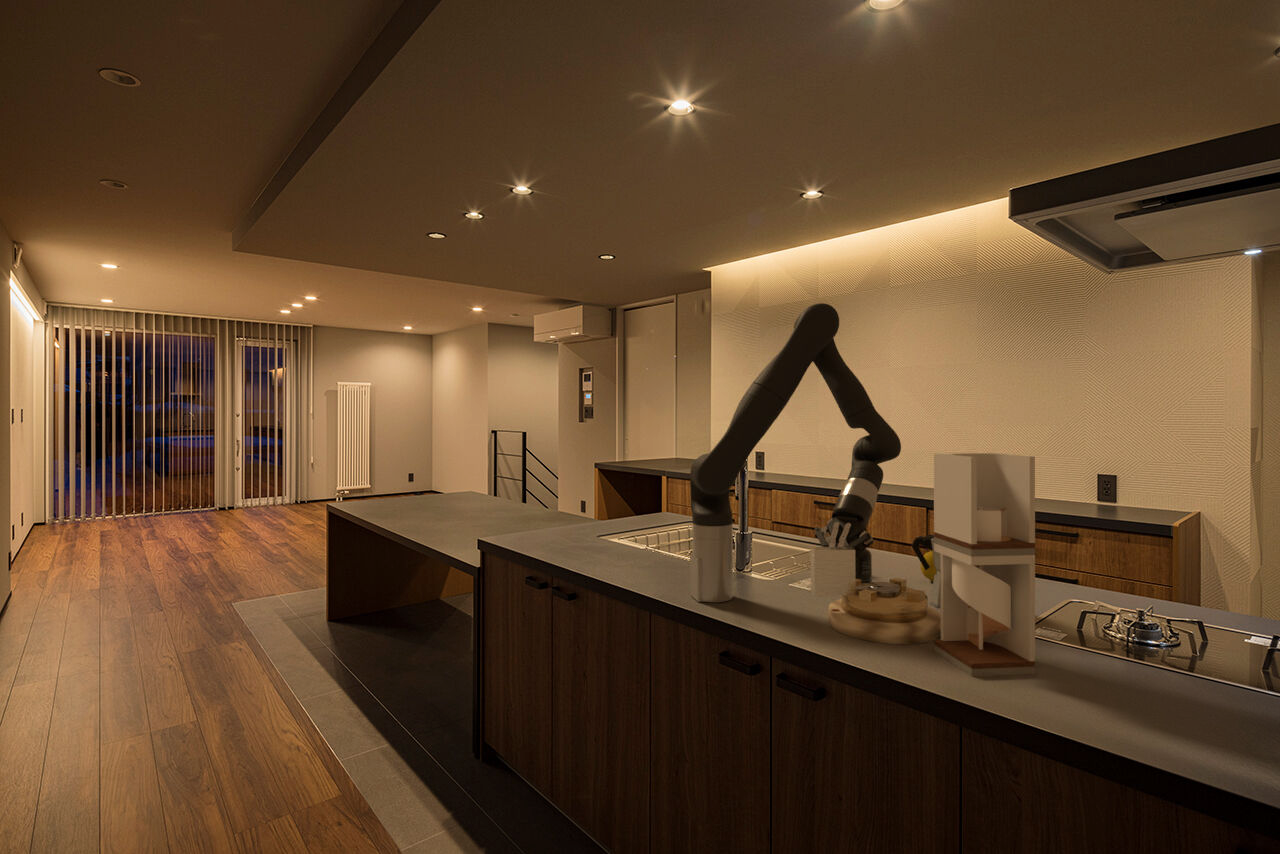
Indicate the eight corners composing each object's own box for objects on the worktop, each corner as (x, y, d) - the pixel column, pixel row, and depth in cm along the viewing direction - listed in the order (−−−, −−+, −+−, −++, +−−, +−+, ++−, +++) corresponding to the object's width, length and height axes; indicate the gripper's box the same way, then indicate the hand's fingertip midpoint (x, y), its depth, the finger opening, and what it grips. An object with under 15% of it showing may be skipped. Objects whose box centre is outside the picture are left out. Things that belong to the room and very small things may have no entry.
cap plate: (865, 648, 117) (865, 630, 117) (810, 614, 138) (809, 599, 138) (966, 638, 122) (966, 621, 122) (898, 607, 143) (898, 592, 142)
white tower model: (934, 651, 116) (933, 453, 115) (991, 649, 117) (991, 452, 116) (971, 676, 105) (971, 457, 104) (1035, 673, 105) (1034, 456, 105)
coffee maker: (989, 606, 143) (988, 524, 142) (976, 615, 136) (976, 529, 136) (919, 594, 153) (918, 517, 153) (904, 602, 146) (904, 522, 146)
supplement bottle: (868, 584, 163) (867, 536, 163) (875, 591, 156) (875, 541, 156) (839, 583, 163) (839, 535, 163) (845, 590, 157) (845, 540, 157)
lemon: (943, 580, 166) (943, 548, 166) (945, 585, 161) (945, 553, 161) (919, 578, 168) (919, 547, 168) (921, 583, 163) (921, 551, 163)
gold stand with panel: (908, 598, 138) (908, 540, 138) (942, 621, 122) (941, 556, 122) (803, 598, 138) (803, 540, 138) (823, 622, 122) (823, 556, 122)
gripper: (821, 490, 145) (794, 554, 136) (880, 494, 136) (855, 563, 127) (832, 511, 149) (806, 575, 140) (890, 517, 140) (867, 585, 131)
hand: (830, 569), depth 133 cm, fingers closed
